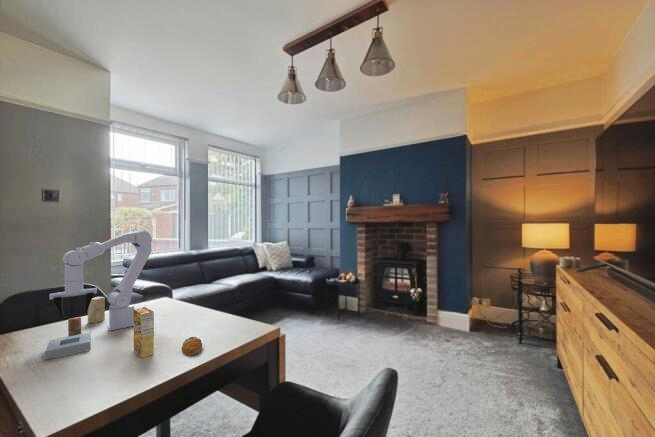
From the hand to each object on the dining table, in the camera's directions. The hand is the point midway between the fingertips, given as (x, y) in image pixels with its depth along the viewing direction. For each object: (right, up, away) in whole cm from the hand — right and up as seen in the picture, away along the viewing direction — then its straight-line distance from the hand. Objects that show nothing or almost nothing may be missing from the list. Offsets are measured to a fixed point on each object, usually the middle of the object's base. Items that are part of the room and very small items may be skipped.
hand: (74, 313), depth 119 cm
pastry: (+54, -10, -12) cm, 56 cm away
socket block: (+7, -10, -10) cm, 16 cm away
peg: (0, -10, 0) cm, 10 cm away
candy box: (+37, -10, -14) cm, 41 cm away
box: (-7, -10, +20) cm, 24 cm away
